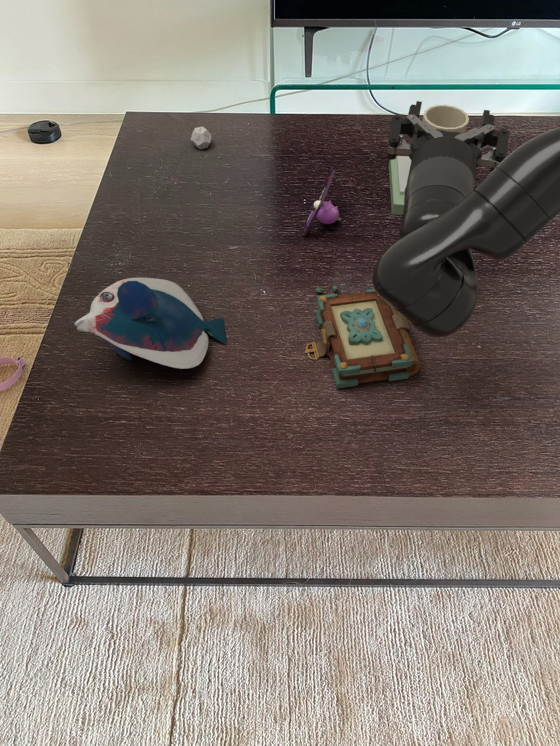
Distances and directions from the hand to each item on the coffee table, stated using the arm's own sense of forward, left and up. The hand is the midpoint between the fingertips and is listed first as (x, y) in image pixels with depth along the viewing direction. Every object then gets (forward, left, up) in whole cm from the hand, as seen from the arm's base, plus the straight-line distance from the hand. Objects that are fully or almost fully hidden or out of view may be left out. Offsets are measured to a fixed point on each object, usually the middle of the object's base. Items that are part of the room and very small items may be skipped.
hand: (451, 112), depth 80 cm
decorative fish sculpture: (+36, +25, -20) cm, 48 cm away
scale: (-2, -10, -19) cm, 22 cm away
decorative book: (+11, +22, -20) cm, 31 cm away
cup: (-2, -11, -17) cm, 20 cm away
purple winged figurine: (+15, -1, -20) cm, 25 cm away
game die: (+37, -20, -20) cm, 46 cm away
